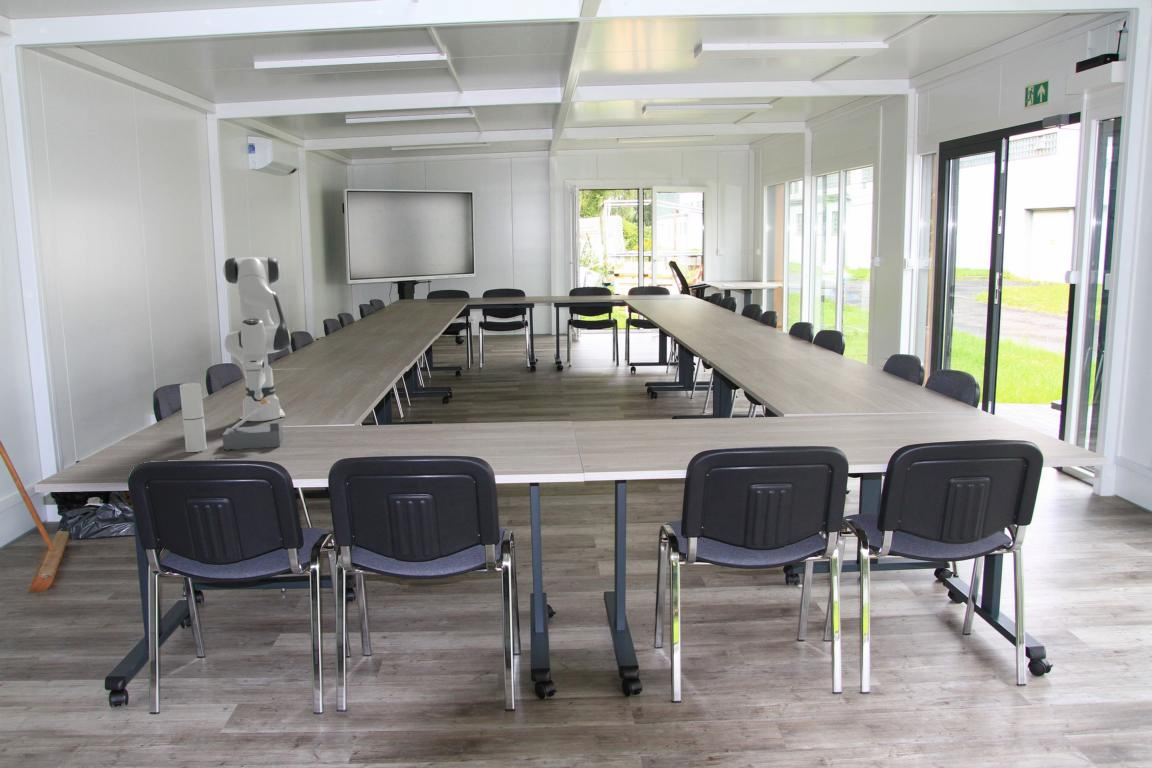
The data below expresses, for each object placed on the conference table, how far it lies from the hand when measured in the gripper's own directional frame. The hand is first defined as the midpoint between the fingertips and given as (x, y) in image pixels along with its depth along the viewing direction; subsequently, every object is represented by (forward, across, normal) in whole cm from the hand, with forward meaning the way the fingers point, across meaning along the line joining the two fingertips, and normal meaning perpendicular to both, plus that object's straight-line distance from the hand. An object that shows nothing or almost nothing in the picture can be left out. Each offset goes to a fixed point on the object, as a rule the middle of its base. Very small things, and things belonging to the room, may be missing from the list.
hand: (258, 398), depth 327 cm
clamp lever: (+7, 0, -3) cm, 8 cm away
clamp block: (+18, 0, -3) cm, 18 cm away
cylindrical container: (+18, +3, -23) cm, 29 cm away
